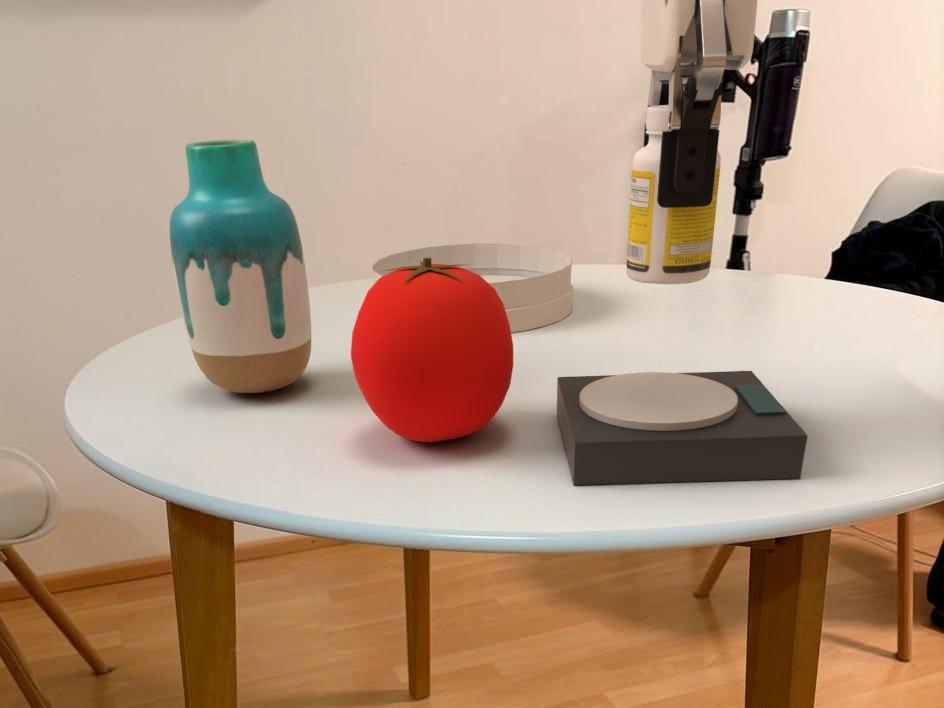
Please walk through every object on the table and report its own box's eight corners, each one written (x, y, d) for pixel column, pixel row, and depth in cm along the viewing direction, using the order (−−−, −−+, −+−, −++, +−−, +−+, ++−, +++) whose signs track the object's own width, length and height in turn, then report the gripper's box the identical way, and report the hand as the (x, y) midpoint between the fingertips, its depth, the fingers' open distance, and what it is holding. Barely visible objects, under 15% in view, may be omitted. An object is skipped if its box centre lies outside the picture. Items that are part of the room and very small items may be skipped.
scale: (746, 408, 72) (752, 362, 70) (800, 478, 60) (809, 426, 58) (556, 414, 72) (557, 368, 70) (573, 485, 60) (575, 433, 59)
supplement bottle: (719, 272, 61) (739, 102, 55) (693, 289, 57) (711, 108, 52) (643, 266, 63) (654, 103, 58) (612, 282, 59) (621, 109, 54)
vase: (304, 364, 86) (275, 133, 76) (332, 397, 78) (303, 142, 67) (190, 380, 83) (143, 142, 72) (206, 416, 75) (155, 152, 64)
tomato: (444, 399, 76) (436, 237, 69) (547, 432, 69) (550, 255, 62) (324, 439, 69) (302, 264, 62) (425, 481, 62) (412, 287, 55)
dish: (511, 346, 89) (510, 292, 86) (333, 322, 99) (328, 274, 96) (605, 297, 104) (607, 250, 102) (443, 281, 114) (441, 238, 112)
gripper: (833, -227, 40) (771, 218, 50) (738, -156, 55) (704, 180, 65) (663, -219, 40) (635, 223, 50) (613, -150, 55) (598, 183, 65)
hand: (674, 195), depth 57 cm, fingers closed on supplement bottle, 5 cm apart
